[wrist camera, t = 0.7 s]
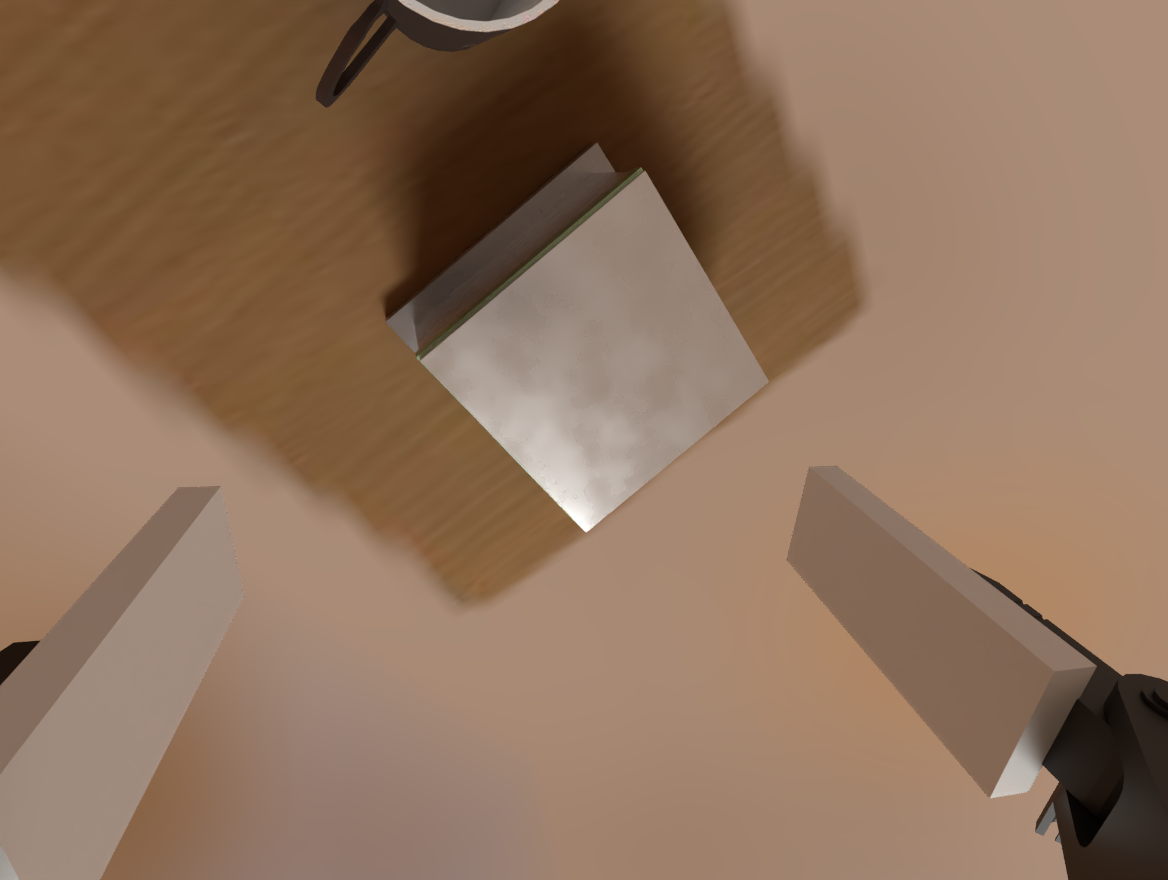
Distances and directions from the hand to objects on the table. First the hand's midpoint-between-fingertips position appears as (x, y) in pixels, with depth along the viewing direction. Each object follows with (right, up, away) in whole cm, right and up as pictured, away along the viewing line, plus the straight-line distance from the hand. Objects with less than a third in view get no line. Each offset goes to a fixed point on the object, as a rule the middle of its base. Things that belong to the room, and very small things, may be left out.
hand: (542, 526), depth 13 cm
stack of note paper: (0, +8, +20) cm, 22 cm away
